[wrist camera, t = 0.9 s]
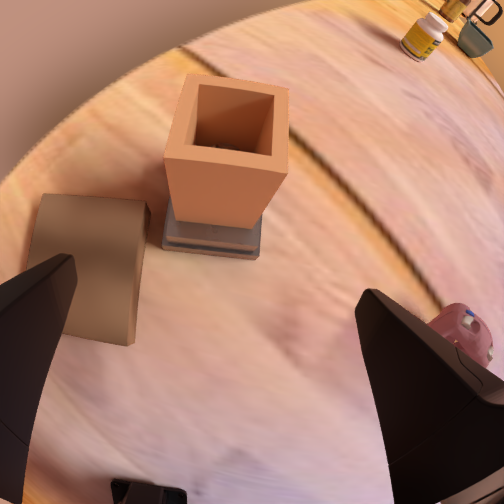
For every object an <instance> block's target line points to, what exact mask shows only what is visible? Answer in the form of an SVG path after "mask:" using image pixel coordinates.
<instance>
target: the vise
mask: <svg viewBox="0 0 504 504" xmlns="http://www.w3.org/2000/svg"><path fill="white" fill-rule="evenodd" d="M210 147H212V148H220V149H228V150H235V151H241V150H240V149H239V148H237V147H236V146H234V145H232V144H229V143H217V144H214V145H212V146H210ZM261 224H262V214H261V216H260V218H259V219H258V221H257V222H256V224H255V225H254V227H253V228H252V229H245V228H237V227H229V226H220V225H212V224H203V223H194V222H185V221H176V219H175V214H174V210H173V205H172V200H171V195H170V197H169V202H168V208H167V214H166V220H165V226H164V232H163V239H162V247H163V249H164V250H169V251H177V252H186V253H195V254H204V255H213V256H222V257H231V258H240V259H250V260H256V259H257V258H258V257H259V253H260V238H261Z"/></svg>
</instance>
